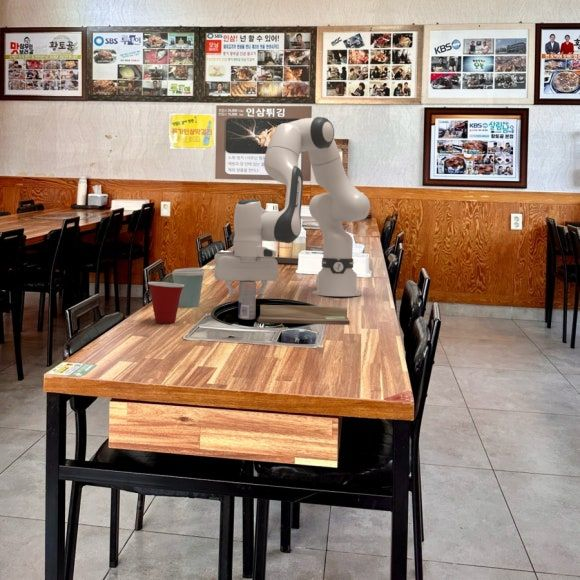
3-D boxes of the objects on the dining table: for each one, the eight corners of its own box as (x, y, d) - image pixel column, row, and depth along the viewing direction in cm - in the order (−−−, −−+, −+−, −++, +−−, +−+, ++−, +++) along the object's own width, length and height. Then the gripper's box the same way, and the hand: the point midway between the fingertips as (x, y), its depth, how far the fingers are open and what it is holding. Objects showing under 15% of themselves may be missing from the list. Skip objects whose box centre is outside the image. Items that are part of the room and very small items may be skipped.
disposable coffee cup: (180, 315, 214) (180, 269, 212) (166, 311, 222) (166, 267, 221) (209, 313, 220) (209, 268, 219) (194, 309, 229) (194, 266, 227)
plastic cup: (187, 324, 194) (187, 283, 193) (149, 325, 190) (149, 284, 189) (181, 319, 204) (181, 280, 203) (146, 320, 201) (146, 280, 199)
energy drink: (246, 317, 212) (247, 280, 211) (258, 319, 208) (259, 281, 207) (234, 318, 208) (235, 281, 206) (247, 320, 204) (247, 282, 203)
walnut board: (260, 317, 213) (260, 304, 213) (346, 319, 213) (346, 306, 212) (258, 322, 201) (258, 309, 201) (349, 324, 201) (349, 311, 200)
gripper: (216, 250, 200) (215, 295, 201) (280, 252, 206) (279, 295, 207) (212, 249, 205) (211, 293, 207) (274, 251, 212) (273, 293, 213)
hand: (246, 294), depth 207 cm, fingers open, 8 cm apart
